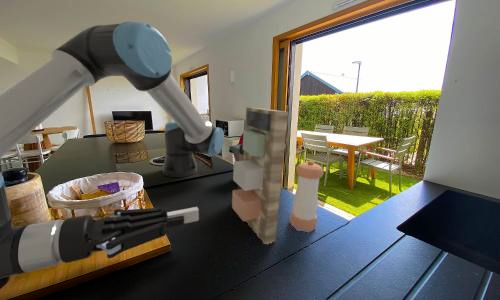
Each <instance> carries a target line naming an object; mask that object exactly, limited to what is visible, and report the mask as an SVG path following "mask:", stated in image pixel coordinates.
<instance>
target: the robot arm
mask: <svg viewBox="0 0 500 300" xmlns="http://www.w3.org/2000/svg"><path fill="white" fill-rule="evenodd" d="M170 52H172V51H171V48H170V45H169V44H168V41H167V40H166V38H165V37H164V35H163V34H162V33H161V32H160V31H159V30H158V29H156V28H155V27H154V26H152V25H150V24H147V23H144V22H139V21H138V22H136V21H124V22H121V23H110V24H103V25H93V26H91V27H88V28H86V29H83V30H82V31H80V32H79V33H77V34H76V35H74V36H73V37H72V38H70V39H68V40H67V41H66V42H64V43H63V44H61V45H60V46H59V47H58V48H56V49H54V50H52V52H51V58H52V59H51V60H49V61H48V62H46V63H45V64H42V66H41V67H39V68H38V69H36V70H35V71H33V72H32V73H31V74H29V75H27V76H26V77H25V78H23V79H22V80H20V81H19V82H17V83H16V84H15V85H13V86H12V87H10V88H8V90H5V91H4V92H2V93H1V94H0V159H1V158H2V157H4V155H6V154H7V153H8V152H10V150H12V149H13V148H14V147H15V146H16V145H17V144H19V143H20V142H22V141H23V139H24V138H26V137H27V136H28V135H29V134H30V133H32V132H33V131H34V130H35V129H36V128H37V127H39V126H40V125H41V124H42V123H43V122H45V120H47V119H48V118H49V117H50V116H51V115H52V114H54V113H55V112H56V111H57V110H59V108H61V107H62V106H63V105H64V104H65V103H67V102H68V101H69V100H70V99H71V98H73V97H74V96H75V95H76V94H77V93H78V92H79V91H81V90H82V89H83V88H84V87H93V86H94V85H95V84H97V82H99V81H100V80H103V79H105V78H108V77H112V76H113V77H115V76H116V77H123V78H125V80H127V81H128V82H129V83H130V84H131V86H133V87H134V88H135V89H136V90H137V91H138V92H146V93H147V94H148V95H150V96H149V97H151V98H152V99H153V100H154V102H156V104H157V105H158V106H159V107H161V109H162V110H163V111H164V112H165V113H166V114H167V115H168V116H169V117H170V119H172V122H167V123H166V124H165V126H164V141H165V159H164V162H163V165H162V169H161V170H162V175H164V176H166V177H170V178H185V177H190V176H193V175H195V174H196V173H197V172H198V165H197V162H196V159H195V156H194V153H197V154H202V155H203V154H204V155H207V156H217V155H218V154H220V152H221V151H222V149H223V147H224V141H225V133H224V130H223V128H221V127H216V126H214V125H213V124H212V122H211V121H210V120H208V119H207V118H205V117H203V116H202V115H201V114H200V112H199V111H198V109H197V108H196V106H195V105H194V104H193V102H192V101H191V100H190V98H189V97H188V95H187V94H186V92H184V90H183V89H182V87H181V85H180V84H179V83H178V82H177V80H176V78H175V77H174V76H173V74H172V72H173V66H172V62H173V56H172V54H170ZM4 179H5V178H4V176H3V174H2V172H1V171H0V279H3V278H7V277H11V276H15V275H22V274H25V273H29V272H34V271H37V270H42V269H47V268H50V267H55V266H59V265H60V264H62V262H63V263H65V264H68V263H72V262H77V261H80V260H85V259H88V258H90V257H91V256H92V255H93V254H94V252H102V251H103V252H106V258H107V259H113V258H114V257H116V256H118V255H120V254H121V253H123V252H125V251H127V250H130V249H133V248H136V247H139V246H140V245H144V244H146V243H150V242H152V241H154V240H155V241H156V240H157V239H159V238H162V237H165V236H166V235H167V233H169V228H173V227H176V226H181V225H184V224H190V223H193V222H198V221H199V220H200V213H199V210H200V209H199V208H198V206H194V207H189V208H184V209H178V210H173V211H167V208H166V207H150V208H149V207H148V208H135V209H134V208H133V209H121V208H117V209H114V210H113V215H111V216H105V217H102V218H99V219H94V218H93V216H92V215H90V214H86V215H81V216H80V215H79V216H73V217H72V216H71V217H68V218H67V219H65V220H63V219H61V218H60V219H55V220H49V221H42V222H37V223H32V224H27V225H17V226H14V224H13V216H12V215H11V210H10V206H9V201H8V197H7V193H6V188H5V184H4V183H5V180H4Z"/></svg>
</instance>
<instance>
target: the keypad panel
mask: <svg viewBox="0 0 500 300" xmlns="http://www.w3.org/2000/svg"><path fill="white" fill-rule="evenodd" d="M288 118H289V111H285V110H278V109H268V108H263V107H262V108H259V107H245V124H244V125H245V126H244V128H245V129H244V130H256V131H259V132H262V133H265V134H266V145H265V156H260V157H255V156H253V155H252V154H250V153H248V152H246V151H244V161H245V160H252V161H254V162H255V163H257V164H259V165H260V166H262V167H264V172H263V185H262V188H259V189H253V190H252V191H253V192H254V193H255V194H257V195H258V196H259V197H260V198H261V211H260V217H259V218H255V219H251V220H247V221H245V222H247V223H248V224H247V225H248V226H249V227H250V228H252V229H251V230H252V231H253V232H254V233H256V234H257V235H256V234H255V235H256V236H257V238H259V239H261V240H262V241H263V242H262V241H261V240H260V241H261V242H262V244H263V245H264V244H267V245H270V244H273V243H275V242H276V238H277V227H278V219H279V218H278V216H279V207H280V200H281V199H280V198H281V187H282V179H283V177H282V176H283V169H284V168H283V167H284V157H285V147H286V139H287V128H288V127H287V126H288ZM274 241H275V242H274ZM272 242H273V243H272ZM269 243H270V244H269Z"/></svg>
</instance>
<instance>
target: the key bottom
mask: <svg viewBox="0 0 500 300" xmlns="http://www.w3.org/2000/svg"><path fill="white" fill-rule="evenodd" d="M231 197H232V200H231V203H232V204H231V209H233V211H234V212H235V213H236V215H238V217H239V218H240V219H241V220H242V222H246V221H247V220H251V219H255V218H259V217H260V211H261V198H260V197H259V196H258V195H257V194H255V193H254V192H253V191H252V190H247V191H244V190H243V189H239V190H238V189H233V190H232V196H231Z"/></svg>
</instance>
